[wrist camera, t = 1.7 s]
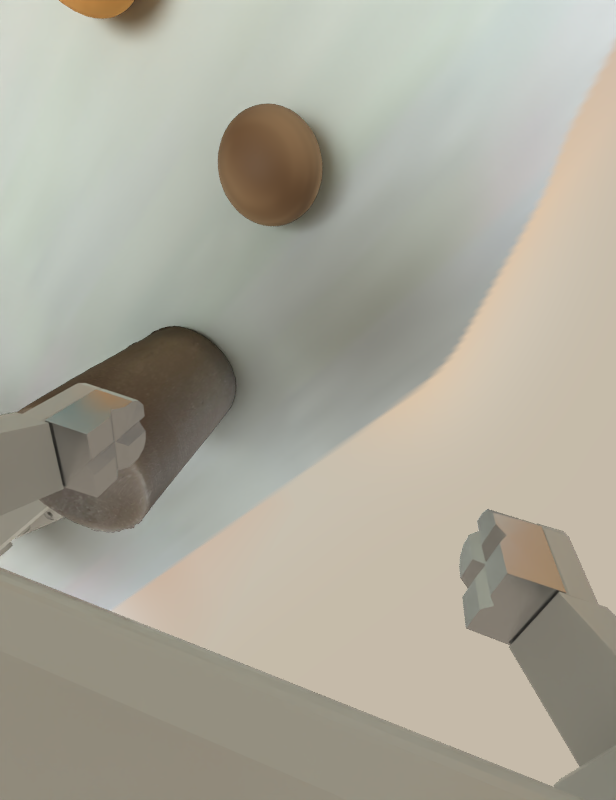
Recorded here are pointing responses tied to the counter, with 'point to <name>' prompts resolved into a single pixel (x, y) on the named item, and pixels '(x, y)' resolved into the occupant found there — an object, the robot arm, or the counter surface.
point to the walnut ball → (270, 164)
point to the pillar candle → (153, 420)
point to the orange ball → (98, 7)
